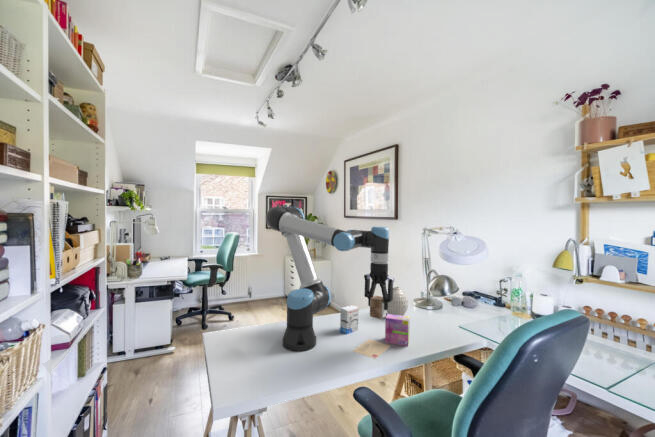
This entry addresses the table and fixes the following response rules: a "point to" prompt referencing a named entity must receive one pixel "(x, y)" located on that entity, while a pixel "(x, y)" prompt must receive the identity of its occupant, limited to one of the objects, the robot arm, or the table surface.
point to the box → (397, 329)
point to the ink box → (349, 319)
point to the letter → (371, 348)
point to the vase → (398, 302)
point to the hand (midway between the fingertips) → (377, 315)
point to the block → (376, 307)
